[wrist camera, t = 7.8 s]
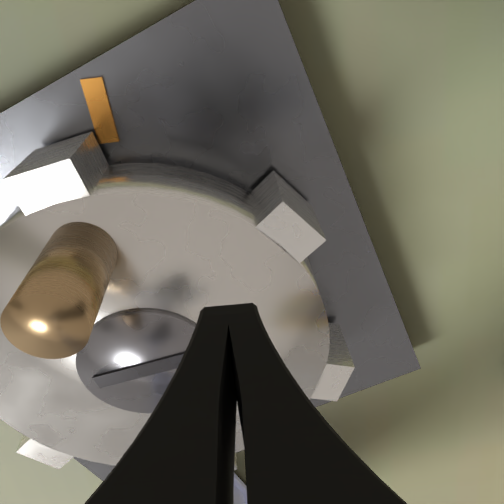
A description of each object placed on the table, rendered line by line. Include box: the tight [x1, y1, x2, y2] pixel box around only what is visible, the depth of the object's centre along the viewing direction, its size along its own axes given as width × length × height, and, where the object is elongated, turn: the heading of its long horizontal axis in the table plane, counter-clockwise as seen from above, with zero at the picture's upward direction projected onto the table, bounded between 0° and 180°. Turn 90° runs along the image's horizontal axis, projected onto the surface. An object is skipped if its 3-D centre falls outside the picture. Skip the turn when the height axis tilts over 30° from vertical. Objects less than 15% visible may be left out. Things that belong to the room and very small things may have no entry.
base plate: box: [0, 0, 420, 481], centre depth 22 cm, size 22×22×2 cm
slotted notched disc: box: [0, 132, 355, 470], centre depth 18 cm, size 17×19×7 cm
